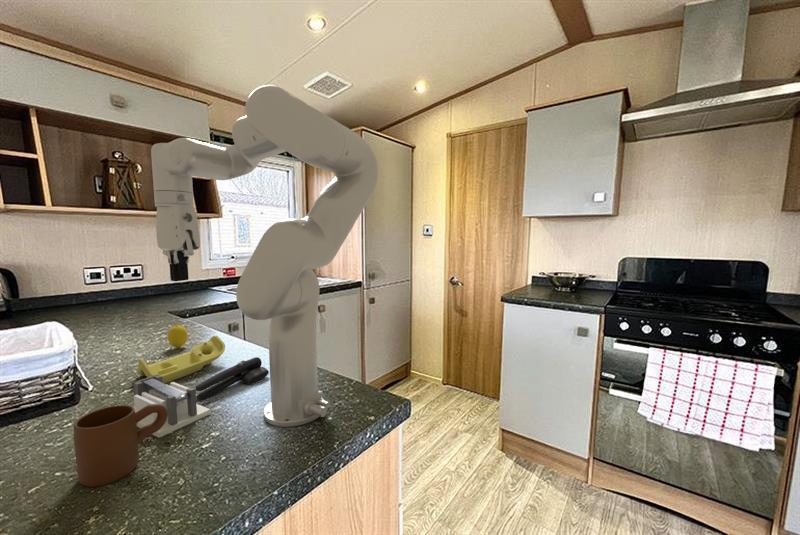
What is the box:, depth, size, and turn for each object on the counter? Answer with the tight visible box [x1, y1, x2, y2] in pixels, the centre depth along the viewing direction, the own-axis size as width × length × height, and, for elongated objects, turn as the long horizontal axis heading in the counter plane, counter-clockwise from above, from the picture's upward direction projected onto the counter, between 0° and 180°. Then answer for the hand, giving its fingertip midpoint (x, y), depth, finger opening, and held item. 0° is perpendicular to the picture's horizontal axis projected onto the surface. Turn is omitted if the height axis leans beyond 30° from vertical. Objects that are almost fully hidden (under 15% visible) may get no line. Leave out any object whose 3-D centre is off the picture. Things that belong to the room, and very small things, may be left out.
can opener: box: [195, 356, 270, 401], centre depth 87 cm, size 18×7×6 cm, turn 146°
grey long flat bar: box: [143, 378, 190, 403], centre depth 72 cm, size 14×3×1 cm, turn 60°
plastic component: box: [137, 335, 226, 384], centre depth 98 cm, size 20×7×10 cm
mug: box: [73, 404, 168, 488], centre depth 57 cm, size 12×8×9 cm, turn 133°
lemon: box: [167, 324, 189, 349], centre depth 116 cm, size 6×6×8 cm
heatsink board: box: [132, 375, 211, 439], centre depth 73 cm, size 15×10×6 cm, turn 60°
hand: (179, 280), depth 82 cm, fingers closed
